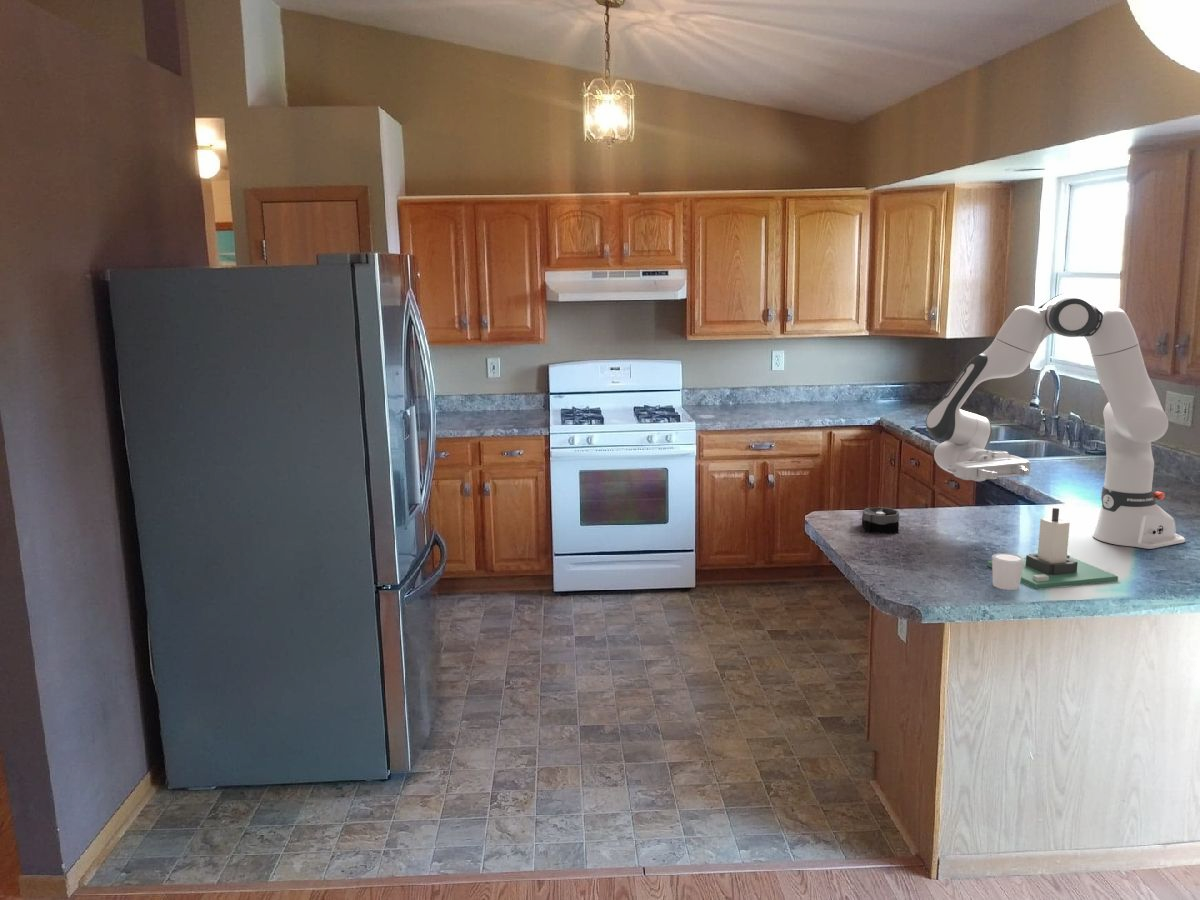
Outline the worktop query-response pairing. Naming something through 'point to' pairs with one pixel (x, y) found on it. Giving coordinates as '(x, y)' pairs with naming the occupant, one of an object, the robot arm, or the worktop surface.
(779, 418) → the worktop surface
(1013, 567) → the white cup
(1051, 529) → the plug
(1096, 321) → the robot arm
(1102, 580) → the circuit board
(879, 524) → the cpu cooler
